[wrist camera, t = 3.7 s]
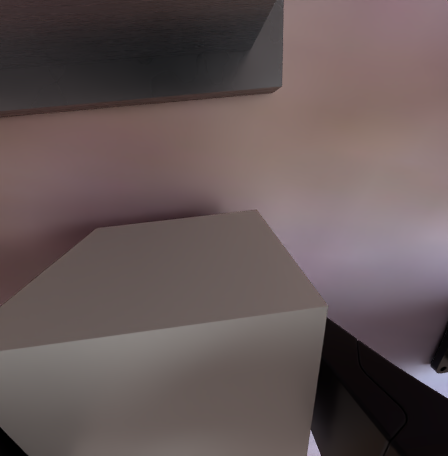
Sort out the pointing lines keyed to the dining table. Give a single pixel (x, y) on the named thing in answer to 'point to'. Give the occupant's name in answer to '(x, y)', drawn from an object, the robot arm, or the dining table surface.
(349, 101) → the dining table surface
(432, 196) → the dining table surface
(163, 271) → the plain white cube
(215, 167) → the dining table surface
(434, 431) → the robot arm
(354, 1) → the dining table surface
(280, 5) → the motor housing
